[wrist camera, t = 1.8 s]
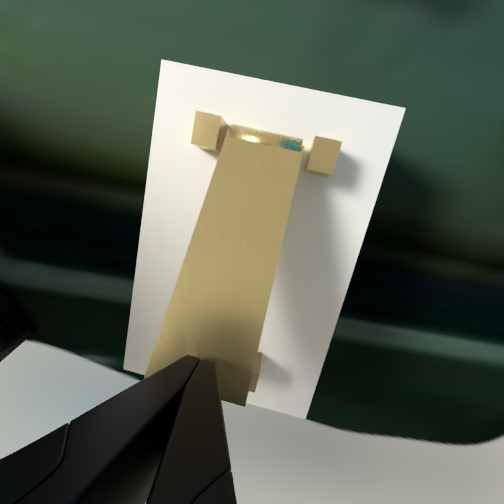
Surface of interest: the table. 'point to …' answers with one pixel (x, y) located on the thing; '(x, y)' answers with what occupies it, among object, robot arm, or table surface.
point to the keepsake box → (298, 224)
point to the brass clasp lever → (232, 259)
